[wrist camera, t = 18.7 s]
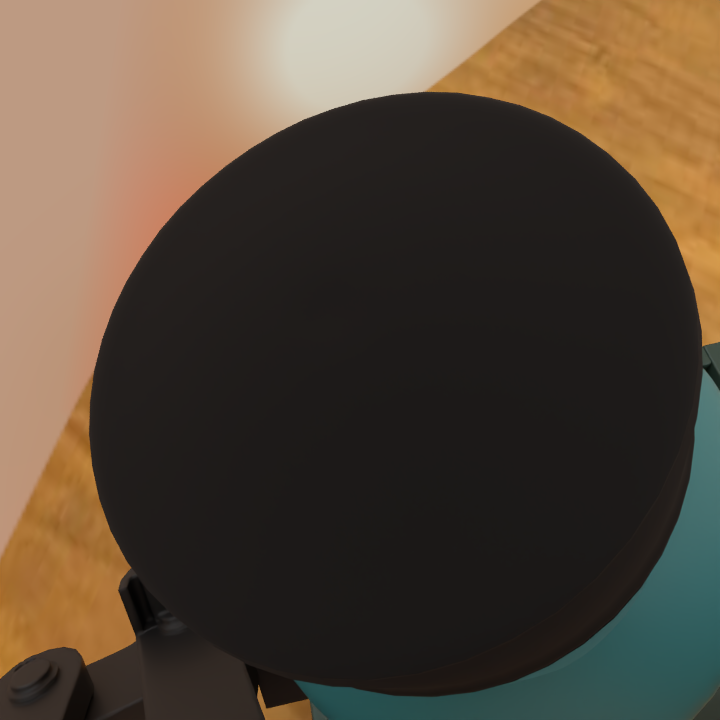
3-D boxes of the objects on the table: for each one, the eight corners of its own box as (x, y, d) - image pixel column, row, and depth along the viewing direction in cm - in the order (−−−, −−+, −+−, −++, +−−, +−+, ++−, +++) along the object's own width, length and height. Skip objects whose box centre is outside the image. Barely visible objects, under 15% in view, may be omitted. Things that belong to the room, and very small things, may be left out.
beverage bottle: (558, 742, 19) (281, 2027, 1) (410, 581, 22) (-207, 390, 5) (694, 585, 19) (1689, 152, 2) (529, 451, 23) (357, -147, 5)
